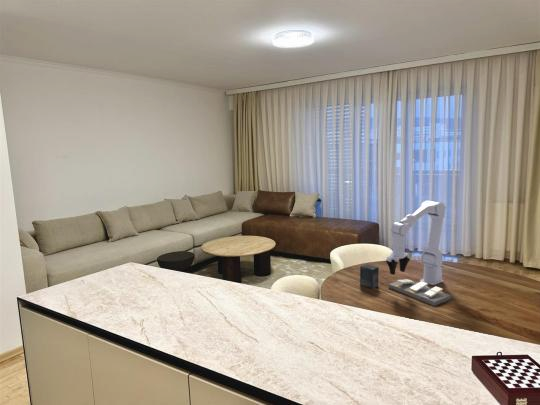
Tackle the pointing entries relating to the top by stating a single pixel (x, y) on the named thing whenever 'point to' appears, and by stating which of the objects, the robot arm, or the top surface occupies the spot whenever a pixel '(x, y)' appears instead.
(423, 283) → the rocker
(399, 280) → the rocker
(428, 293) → the rocker
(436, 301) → the switch panel
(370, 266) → the box
